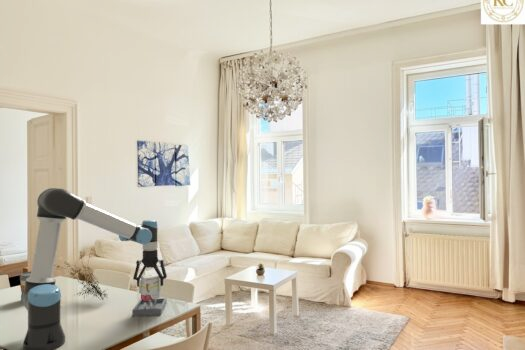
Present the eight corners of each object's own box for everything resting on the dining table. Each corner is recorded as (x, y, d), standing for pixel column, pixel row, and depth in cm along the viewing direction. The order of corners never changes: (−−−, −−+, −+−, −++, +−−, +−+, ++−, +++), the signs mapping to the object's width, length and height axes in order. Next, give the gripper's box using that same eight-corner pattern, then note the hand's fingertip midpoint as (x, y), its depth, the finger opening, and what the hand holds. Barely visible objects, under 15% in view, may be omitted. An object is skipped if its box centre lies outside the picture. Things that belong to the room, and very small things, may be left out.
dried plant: (130, 270, 214) (92, 231, 240) (73, 287, 191) (38, 242, 216) (122, 314, 224) (86, 272, 249) (67, 335, 200) (34, 287, 226)
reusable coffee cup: (36, 302, 215) (36, 275, 215) (14, 303, 215) (14, 276, 215) (49, 296, 227) (49, 270, 227) (28, 296, 227) (28, 270, 228)
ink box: (144, 301, 197) (143, 278, 198) (140, 299, 201) (140, 276, 201) (160, 298, 203) (159, 275, 203) (156, 295, 206) (156, 273, 207)
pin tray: (161, 314, 194) (161, 303, 194) (132, 316, 192) (132, 304, 192) (166, 303, 211) (166, 293, 212) (140, 304, 210) (140, 294, 210)
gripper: (172, 247, 207) (172, 289, 207) (130, 248, 205) (130, 291, 205) (170, 250, 200) (170, 293, 199) (126, 251, 198) (126, 295, 197)
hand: (150, 292), depth 202 cm, fingers closed on ink box, 9 cm apart
